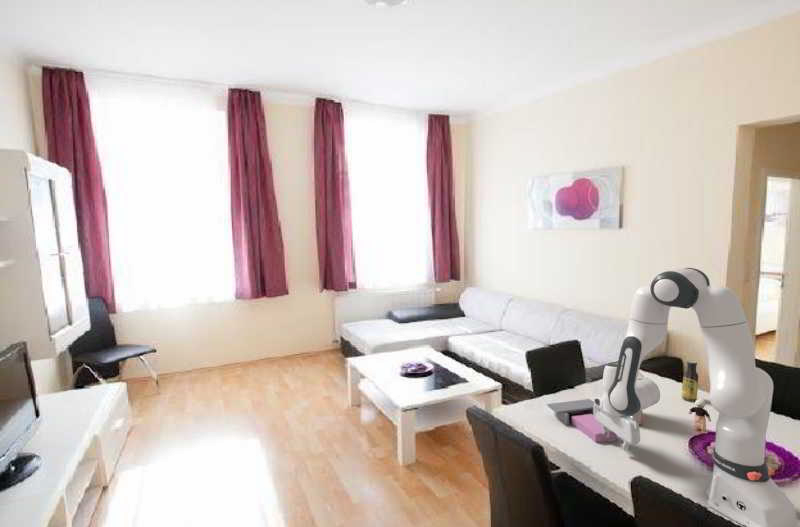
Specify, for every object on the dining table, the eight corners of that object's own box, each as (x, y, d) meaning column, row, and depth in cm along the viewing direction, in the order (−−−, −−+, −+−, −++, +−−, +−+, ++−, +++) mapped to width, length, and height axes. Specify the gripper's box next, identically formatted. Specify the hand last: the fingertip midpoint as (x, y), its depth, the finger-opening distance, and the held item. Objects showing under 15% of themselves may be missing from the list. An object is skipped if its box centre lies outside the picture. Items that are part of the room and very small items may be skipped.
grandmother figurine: (712, 432, 161) (713, 400, 160) (709, 435, 159) (711, 403, 157) (689, 425, 167) (690, 394, 166) (686, 428, 164) (687, 397, 163)
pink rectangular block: (616, 439, 158) (616, 431, 157) (595, 443, 156) (595, 434, 156) (591, 421, 172) (591, 413, 172) (571, 424, 171) (571, 416, 170)
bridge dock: (603, 420, 173) (603, 408, 172) (559, 426, 169) (559, 413, 169) (589, 410, 182) (589, 398, 182) (547, 415, 178) (547, 404, 178)
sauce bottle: (679, 398, 191) (680, 360, 190) (686, 396, 194) (687, 358, 192) (692, 403, 186) (694, 364, 184) (700, 400, 188) (701, 362, 187)
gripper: (645, 418, 140) (644, 457, 142) (605, 394, 160) (604, 428, 162) (629, 420, 139) (628, 459, 141) (590, 396, 159) (589, 430, 161)
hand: (615, 442), depth 151 cm, fingers open, 8 cm apart
